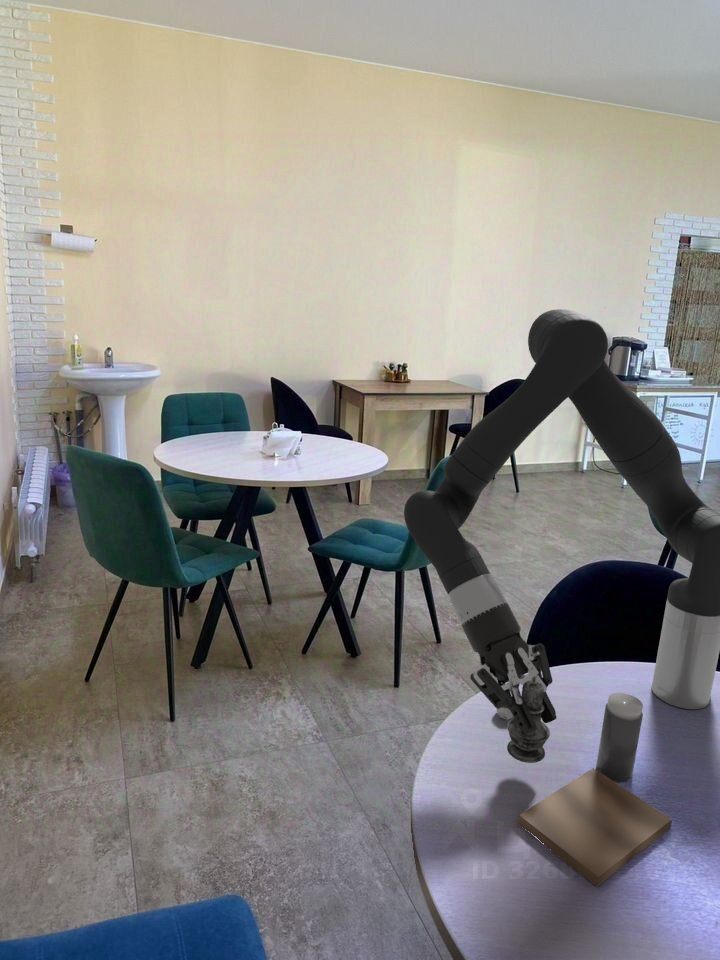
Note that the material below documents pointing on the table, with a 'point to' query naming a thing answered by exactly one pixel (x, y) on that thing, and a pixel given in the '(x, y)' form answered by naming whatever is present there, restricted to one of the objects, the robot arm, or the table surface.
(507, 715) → the game die
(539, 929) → the table surface
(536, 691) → the grey chess piece
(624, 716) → the grey cylinder
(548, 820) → the walnut board
